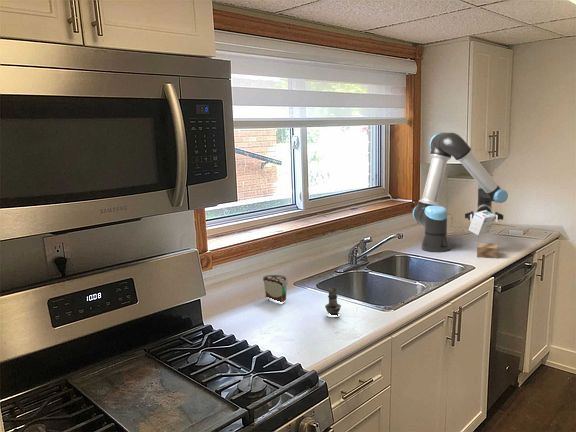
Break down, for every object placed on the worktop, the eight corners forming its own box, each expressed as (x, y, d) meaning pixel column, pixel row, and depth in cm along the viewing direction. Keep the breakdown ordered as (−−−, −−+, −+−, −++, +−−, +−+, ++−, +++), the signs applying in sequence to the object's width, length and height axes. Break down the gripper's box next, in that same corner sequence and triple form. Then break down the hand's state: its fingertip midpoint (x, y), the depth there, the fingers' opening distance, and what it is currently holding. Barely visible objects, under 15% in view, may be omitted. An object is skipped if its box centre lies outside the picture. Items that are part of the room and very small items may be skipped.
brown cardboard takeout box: (476, 257, 241) (477, 247, 240) (477, 252, 250) (478, 242, 249) (498, 258, 237) (498, 248, 236) (498, 253, 246) (498, 243, 245)
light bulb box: (479, 226, 257) (485, 209, 252) (489, 232, 252) (496, 215, 248) (467, 230, 251) (474, 212, 246) (478, 235, 246) (485, 217, 242)
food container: (295, 301, 189) (294, 278, 188) (284, 306, 185) (283, 281, 183) (274, 295, 198) (273, 272, 196) (263, 299, 194) (262, 276, 192)
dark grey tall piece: (335, 311, 178) (334, 280, 176) (344, 316, 173) (343, 284, 170) (322, 314, 175) (321, 283, 173) (331, 319, 170) (330, 288, 168)
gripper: (507, 219, 262) (508, 227, 242) (461, 218, 271) (459, 225, 252) (507, 206, 261) (509, 212, 241) (461, 205, 270) (459, 211, 250)
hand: (483, 219), depth 246 cm, fingers closed on light bulb box, 12 cm apart
